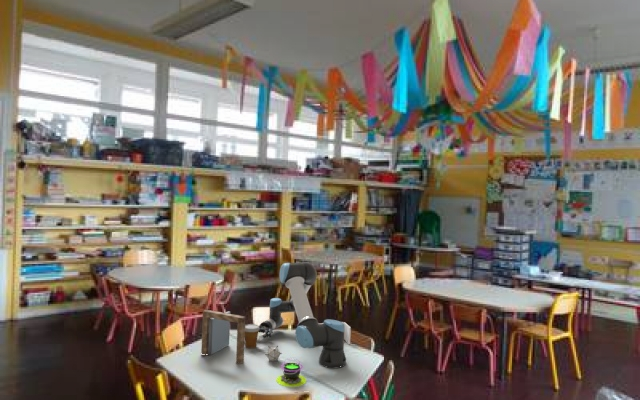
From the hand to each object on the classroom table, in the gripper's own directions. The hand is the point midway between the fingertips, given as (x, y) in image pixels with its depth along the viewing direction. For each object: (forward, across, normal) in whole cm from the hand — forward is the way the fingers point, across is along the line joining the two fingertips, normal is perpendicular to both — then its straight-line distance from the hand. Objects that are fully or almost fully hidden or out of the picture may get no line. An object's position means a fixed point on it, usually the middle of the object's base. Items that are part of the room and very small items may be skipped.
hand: (249, 336), depth 273 cm
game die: (+12, -23, -7) cm, 27 cm away
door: (+14, +13, -6) cm, 20 cm away
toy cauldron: (+29, -43, -7) cm, 52 cm away
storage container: (-30, -38, -7) cm, 50 cm away
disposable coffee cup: (-1, 0, -7) cm, 7 cm away
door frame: (+23, +3, -6) cm, 24 cm away
